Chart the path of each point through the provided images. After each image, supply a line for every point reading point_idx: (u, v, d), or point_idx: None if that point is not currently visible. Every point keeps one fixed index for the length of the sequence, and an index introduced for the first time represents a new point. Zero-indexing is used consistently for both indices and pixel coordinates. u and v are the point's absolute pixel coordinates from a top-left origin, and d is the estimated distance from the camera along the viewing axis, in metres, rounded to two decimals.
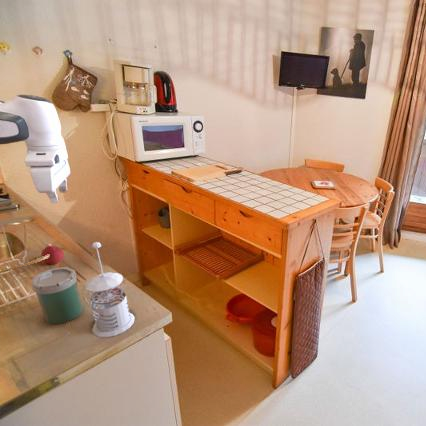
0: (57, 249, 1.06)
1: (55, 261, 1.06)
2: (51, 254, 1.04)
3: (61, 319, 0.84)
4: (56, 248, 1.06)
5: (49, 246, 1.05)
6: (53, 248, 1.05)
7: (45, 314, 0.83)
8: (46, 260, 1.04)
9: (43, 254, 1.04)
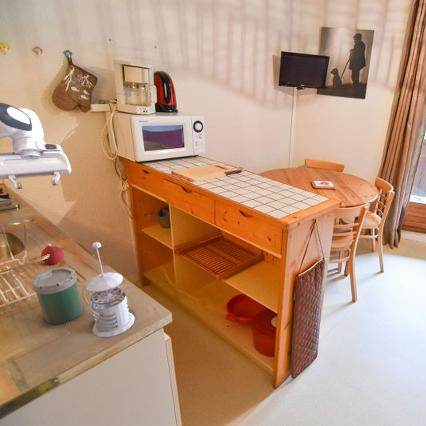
0: (57, 249, 1.06)
1: (55, 261, 1.06)
2: (51, 254, 1.04)
3: (61, 319, 0.84)
4: (56, 248, 1.06)
5: (49, 246, 1.05)
6: (53, 248, 1.05)
7: (45, 314, 0.83)
8: (46, 260, 1.04)
9: (43, 254, 1.04)
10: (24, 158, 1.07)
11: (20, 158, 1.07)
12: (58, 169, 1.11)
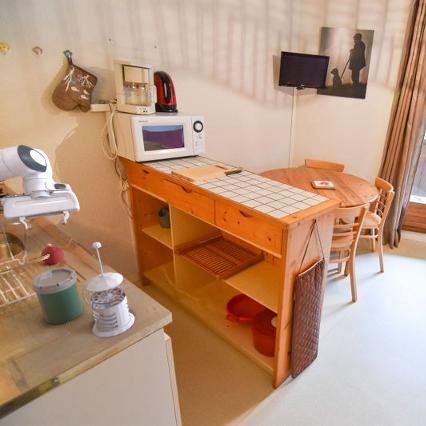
0: (57, 249, 1.06)
1: (55, 261, 1.06)
2: (51, 254, 1.04)
3: (61, 319, 0.84)
4: (56, 248, 1.06)
5: (49, 246, 1.05)
6: (53, 248, 1.05)
7: (45, 314, 0.83)
8: (46, 260, 1.04)
9: (43, 254, 1.04)
10: (34, 199, 1.10)
11: (30, 199, 1.09)
12: (67, 208, 1.13)
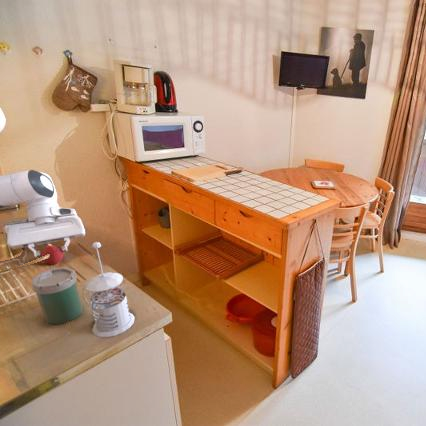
0: (57, 249, 1.06)
1: (55, 261, 1.06)
2: (51, 254, 1.04)
3: (61, 319, 0.84)
4: (56, 248, 1.06)
5: (49, 246, 1.05)
6: (53, 248, 1.05)
7: (45, 314, 0.83)
8: (46, 260, 1.04)
9: (43, 254, 1.04)
10: (38, 225, 1.06)
11: (34, 226, 1.06)
12: (73, 234, 1.10)
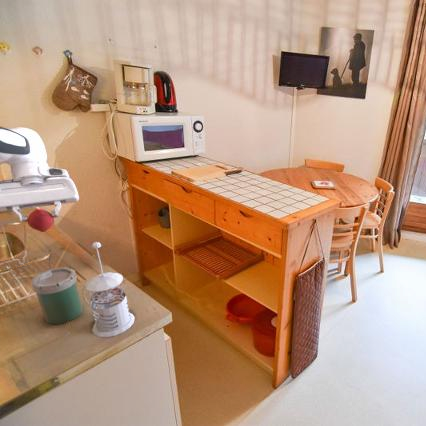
0: (46, 213, 0.93)
1: (44, 227, 0.92)
2: (39, 218, 0.91)
3: (61, 319, 0.84)
4: (45, 212, 0.93)
5: (37, 209, 0.92)
6: (42, 212, 0.92)
7: (45, 314, 0.83)
8: (33, 225, 0.91)
9: (30, 218, 0.91)
10: (25, 186, 0.93)
11: (20, 186, 0.92)
12: (64, 198, 0.96)
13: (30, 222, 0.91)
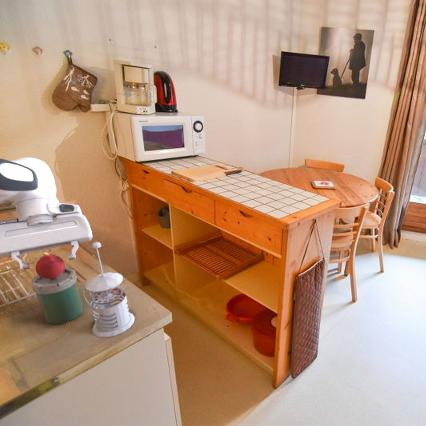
0: (56, 259, 0.81)
1: (54, 275, 0.81)
2: (48, 266, 0.79)
3: (61, 319, 0.84)
4: (55, 258, 0.81)
5: (46, 255, 0.80)
6: (51, 258, 0.80)
7: (45, 314, 0.83)
8: (42, 274, 0.79)
9: (38, 266, 0.79)
10: (32, 226, 0.81)
11: (27, 227, 0.80)
12: (76, 238, 0.85)
13: (38, 271, 0.79)
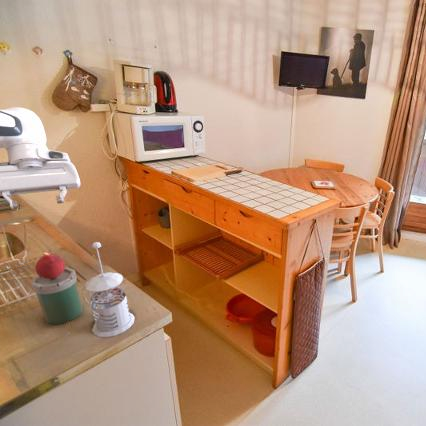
0: (56, 259, 0.81)
1: (54, 275, 0.81)
2: (48, 266, 0.79)
3: (61, 319, 0.84)
4: (55, 258, 0.81)
5: (46, 255, 0.80)
6: (51, 258, 0.80)
7: (45, 314, 0.83)
8: (42, 274, 0.79)
9: (38, 266, 0.79)
10: (22, 169, 0.86)
11: (17, 169, 0.85)
12: (65, 183, 0.89)
13: (38, 271, 0.79)
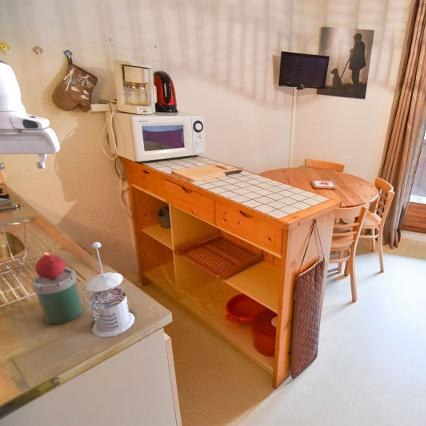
0: (56, 259, 0.81)
1: (54, 275, 0.81)
2: (48, 266, 0.79)
3: (61, 319, 0.84)
4: (55, 258, 0.81)
5: (46, 255, 0.80)
6: (51, 258, 0.80)
7: (45, 314, 0.83)
8: (42, 274, 0.79)
9: (38, 266, 0.79)
10: (0, 134, 0.88)
11: None
12: (43, 152, 0.93)
13: (38, 271, 0.79)
